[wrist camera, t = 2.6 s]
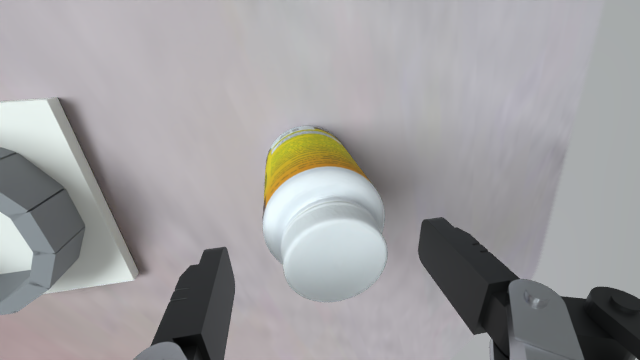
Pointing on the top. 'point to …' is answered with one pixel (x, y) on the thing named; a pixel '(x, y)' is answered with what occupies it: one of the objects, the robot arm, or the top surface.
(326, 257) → the supplement bottle
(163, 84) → the top surface
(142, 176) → the top surface
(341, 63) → the top surface
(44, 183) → the ring holder
